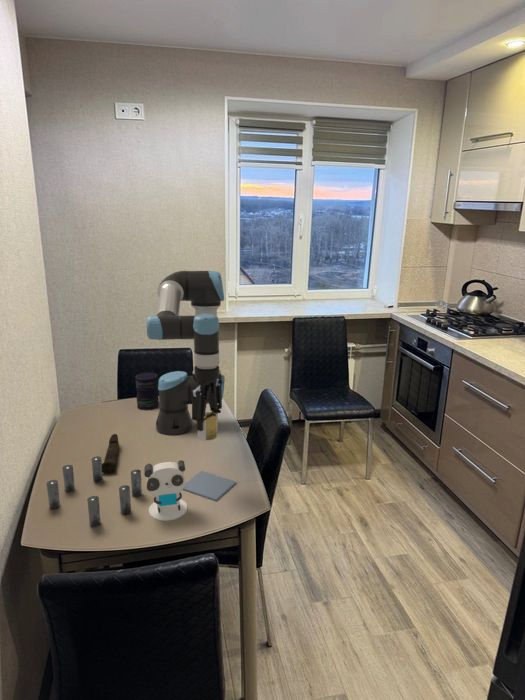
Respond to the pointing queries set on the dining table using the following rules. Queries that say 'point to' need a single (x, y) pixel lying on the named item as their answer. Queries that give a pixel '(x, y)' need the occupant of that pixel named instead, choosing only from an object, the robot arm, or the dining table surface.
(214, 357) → the robot arm
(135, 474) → the spacer posts
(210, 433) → the gold metal cylinder
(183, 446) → the dining table surface
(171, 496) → the panda figurine
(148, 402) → the storage jar
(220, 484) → the slate board
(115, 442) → the hand tool
